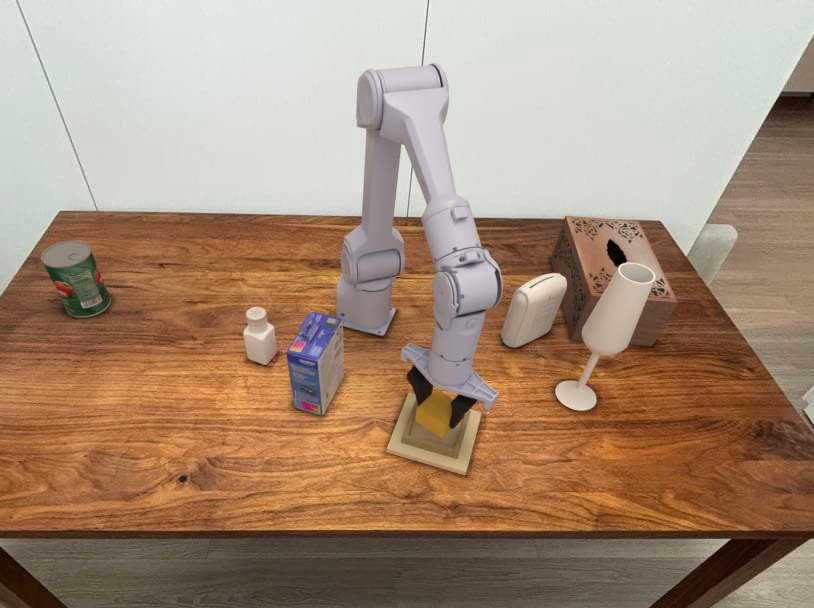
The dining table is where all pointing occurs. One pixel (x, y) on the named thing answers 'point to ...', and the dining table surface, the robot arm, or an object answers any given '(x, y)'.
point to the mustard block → (435, 413)
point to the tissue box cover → (607, 272)
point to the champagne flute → (609, 328)
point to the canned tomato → (76, 278)
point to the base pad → (434, 440)
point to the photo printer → (533, 309)
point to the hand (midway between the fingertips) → (439, 414)
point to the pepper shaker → (259, 336)
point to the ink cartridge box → (316, 362)
